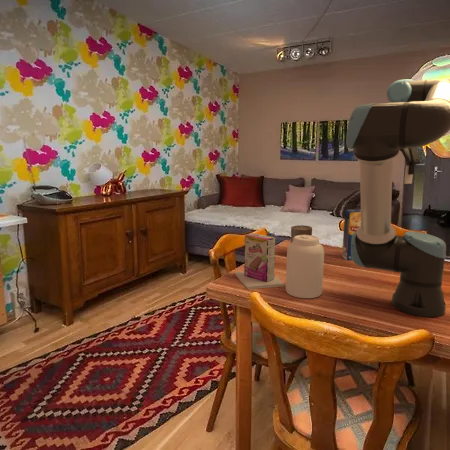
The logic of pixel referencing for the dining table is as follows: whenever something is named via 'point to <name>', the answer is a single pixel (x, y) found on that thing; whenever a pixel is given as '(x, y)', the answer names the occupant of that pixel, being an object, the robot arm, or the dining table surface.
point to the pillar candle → (300, 231)
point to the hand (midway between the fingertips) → (395, 182)
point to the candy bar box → (259, 257)
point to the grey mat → (257, 281)
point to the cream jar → (304, 267)
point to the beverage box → (350, 231)
